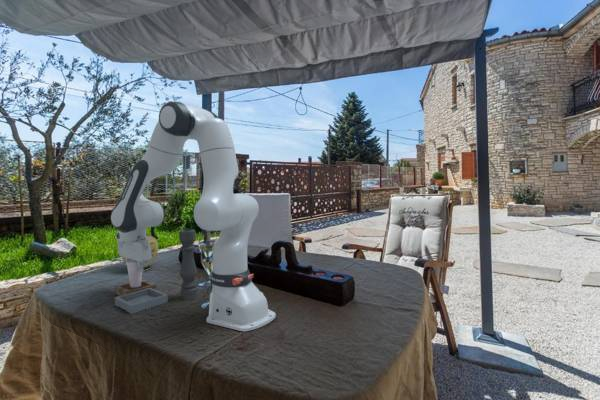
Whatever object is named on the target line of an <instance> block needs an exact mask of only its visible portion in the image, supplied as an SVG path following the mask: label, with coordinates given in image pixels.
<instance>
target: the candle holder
mask: <svg viewBox="0 0 600 400" xmlns="http://www.w3.org/2000/svg"><path fill="white" fill-rule="evenodd" d="M196 239H197V238H196V230H195V229H181V230H179V231H178V240H179V242H180V243H181V246H180V251H181V252H182V261H181V265H180V271H179V275H180V277H181V279H182V283H181V285H180V287H181V288H180V290H179V291H180V299H181V300H182V301H191V300H194V299H197V298H198V297H199V288H198V286H197V285H198V283H197V281H196V277H197V276H198V269H197V266H196V262H195V257H194V255H195V254H194V250H195V249H196V246H195V245H194V244H195V240H196Z"/></svg>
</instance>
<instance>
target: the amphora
mask: <svg viewBox="0 0 600 400" xmlns="http://www.w3.org/2000/svg"><path fill="white" fill-rule="evenodd" d="M155 227H156V226H155ZM155 227H150V234H149V233H148V232H146V239H147V240H148V242H149V243H150V247H151V255H152V258H151V261H147V262H145V264H144V267H143V272H145V271H144V270H147V271H149V270H148V269H150V268H151V269H152V267H151V264H152V263H153V262H154V261H155V260H156V258H157V255H158V253H159V242H158V240H159V237H158V236H157V234H155V233H156V231H155V230H156V228H155ZM120 257H121V259H122V261H123V262H124V263H125V264H126V258H125V257H122V256H120ZM151 269H150V270H151Z"/></svg>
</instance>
